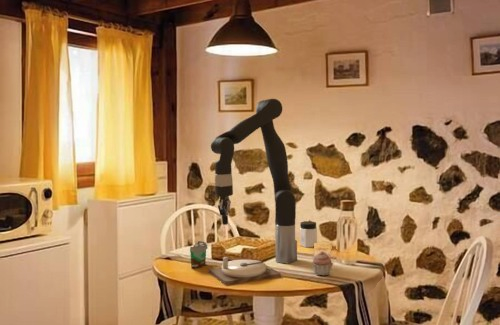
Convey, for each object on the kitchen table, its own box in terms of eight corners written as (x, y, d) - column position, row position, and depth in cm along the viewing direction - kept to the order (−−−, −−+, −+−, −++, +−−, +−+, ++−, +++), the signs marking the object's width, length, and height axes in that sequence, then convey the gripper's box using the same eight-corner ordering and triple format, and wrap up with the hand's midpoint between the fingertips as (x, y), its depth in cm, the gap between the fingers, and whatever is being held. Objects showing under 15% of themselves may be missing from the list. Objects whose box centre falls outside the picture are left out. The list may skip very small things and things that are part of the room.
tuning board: (260, 265, 248) (260, 261, 247) (280, 276, 229) (280, 272, 229) (208, 272, 237) (208, 268, 237) (225, 285, 219) (225, 281, 219)
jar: (296, 245, 284) (296, 222, 283) (308, 242, 289) (308, 220, 288) (308, 248, 277) (308, 225, 276) (320, 246, 282) (320, 223, 280)
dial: (223, 264, 243) (223, 249, 243) (266, 264, 242) (266, 249, 242) (219, 277, 224) (219, 261, 224) (265, 277, 223) (265, 261, 223)
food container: (203, 269, 242) (203, 247, 241) (190, 269, 243) (189, 247, 242) (211, 262, 254) (210, 241, 253) (198, 261, 255) (197, 240, 254)
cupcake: (307, 275, 231) (307, 252, 230) (317, 270, 239) (317, 247, 238) (327, 278, 226) (327, 255, 225) (337, 273, 233) (336, 250, 233)
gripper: (219, 182, 240) (220, 221, 242) (211, 186, 227) (212, 227, 229) (235, 182, 239) (237, 221, 240) (228, 186, 226) (230, 227, 228)
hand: (225, 224), depth 235 cm, fingers closed
